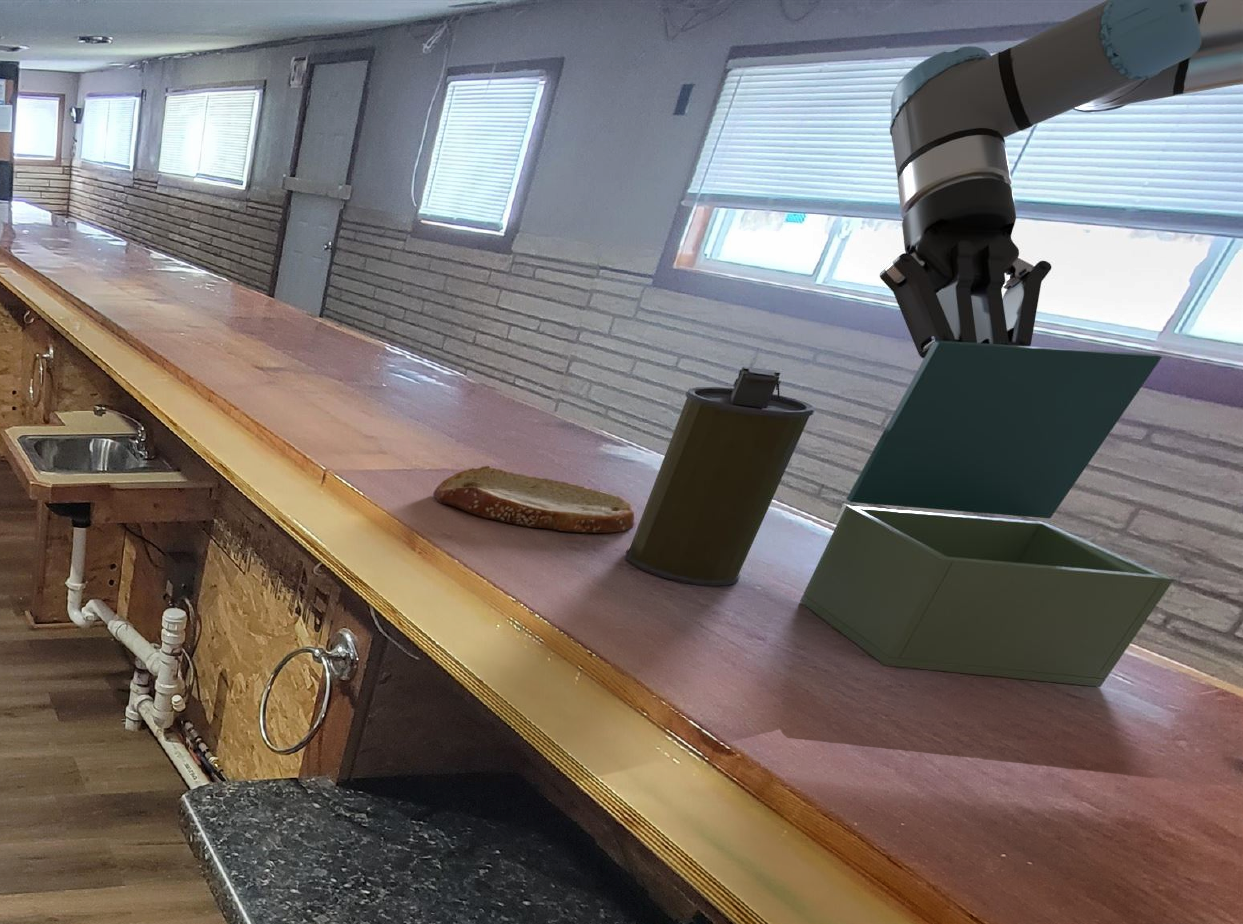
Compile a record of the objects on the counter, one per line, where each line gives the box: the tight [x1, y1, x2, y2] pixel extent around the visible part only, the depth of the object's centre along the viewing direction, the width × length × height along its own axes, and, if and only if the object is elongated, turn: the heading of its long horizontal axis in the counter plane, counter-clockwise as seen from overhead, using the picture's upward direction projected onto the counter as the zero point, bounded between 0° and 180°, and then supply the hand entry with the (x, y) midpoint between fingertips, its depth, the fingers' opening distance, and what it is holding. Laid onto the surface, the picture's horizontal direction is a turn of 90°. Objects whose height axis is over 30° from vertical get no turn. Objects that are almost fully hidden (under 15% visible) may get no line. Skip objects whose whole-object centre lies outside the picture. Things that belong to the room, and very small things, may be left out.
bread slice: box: [433, 465, 636, 534], centre depth 115 cm, size 18×18×4 cm
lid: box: [846, 340, 1163, 519], centre depth 86 cm, size 14×17×4 cm
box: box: [799, 505, 1175, 688], centre depth 86 cm, size 14×17×10 cm
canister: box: [625, 366, 816, 587], centre depth 97 cm, size 11×10×20 cm
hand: (983, 424), depth 86 cm, fingers closed
